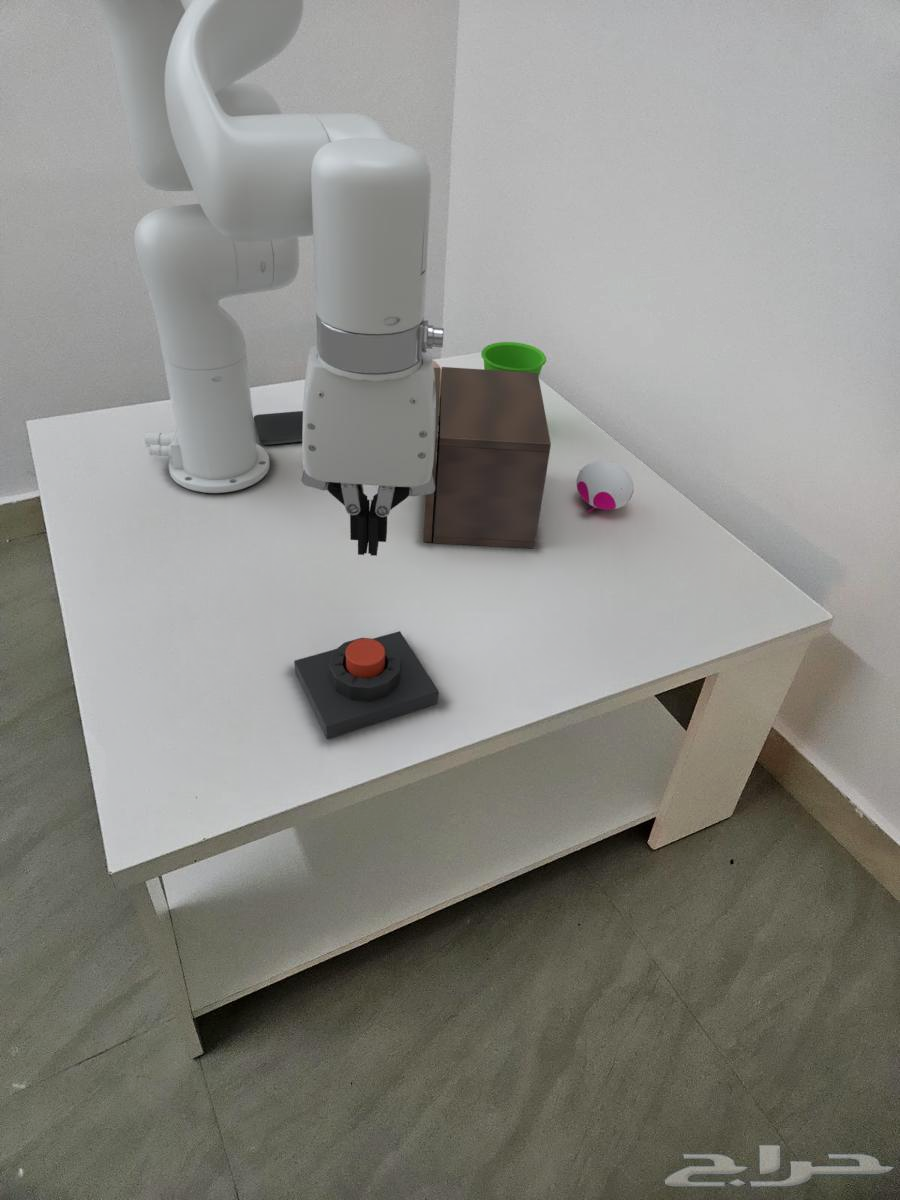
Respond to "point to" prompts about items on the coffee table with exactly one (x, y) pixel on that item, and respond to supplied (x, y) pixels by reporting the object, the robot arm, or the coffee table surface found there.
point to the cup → (513, 357)
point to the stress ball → (605, 485)
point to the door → (430, 497)
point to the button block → (364, 687)
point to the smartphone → (279, 427)
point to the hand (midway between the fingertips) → (368, 545)
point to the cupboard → (490, 458)
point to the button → (365, 658)
